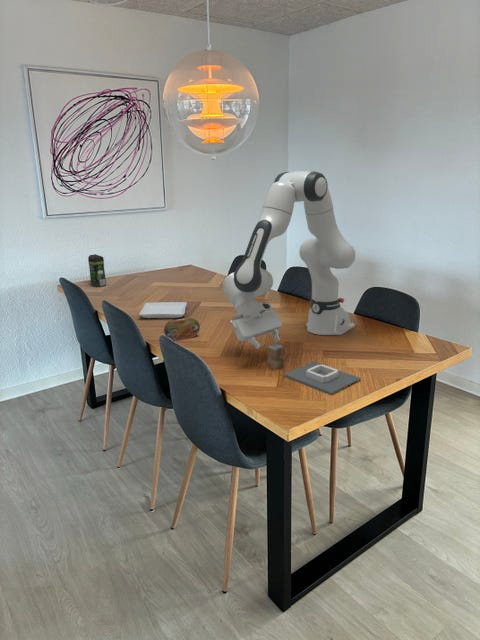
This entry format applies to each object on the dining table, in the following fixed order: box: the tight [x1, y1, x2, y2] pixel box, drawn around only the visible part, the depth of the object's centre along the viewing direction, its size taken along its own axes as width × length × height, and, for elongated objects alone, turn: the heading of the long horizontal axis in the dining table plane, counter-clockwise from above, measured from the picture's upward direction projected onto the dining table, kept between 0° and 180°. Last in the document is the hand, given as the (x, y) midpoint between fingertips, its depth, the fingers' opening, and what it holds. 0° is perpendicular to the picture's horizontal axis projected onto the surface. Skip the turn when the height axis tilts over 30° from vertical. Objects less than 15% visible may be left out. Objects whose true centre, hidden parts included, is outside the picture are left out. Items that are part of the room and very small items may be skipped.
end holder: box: [283, 361, 362, 395], centre depth 168 cm, size 16×20×3 cm
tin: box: [163, 317, 201, 342], centre depth 207 cm, size 15×3×8 cm, turn 115°
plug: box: [267, 343, 284, 371], centre depth 177 cm, size 4×4×8 cm
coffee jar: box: [87, 254, 107, 288], centre depth 297 cm, size 10×8×19 cm
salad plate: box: [139, 301, 188, 319], centre depth 242 cm, size 21×21×3 cm
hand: (268, 344), depth 178 cm, fingers open, 8 cm apart
